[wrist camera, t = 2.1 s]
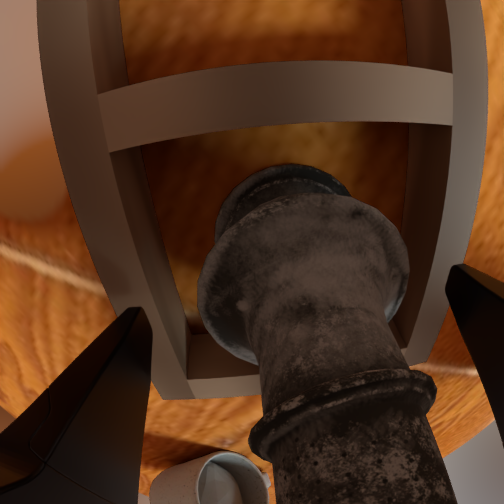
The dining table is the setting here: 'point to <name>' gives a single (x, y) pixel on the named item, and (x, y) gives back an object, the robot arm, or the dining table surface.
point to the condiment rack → (255, 115)
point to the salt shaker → (322, 341)
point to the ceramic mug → (212, 482)
